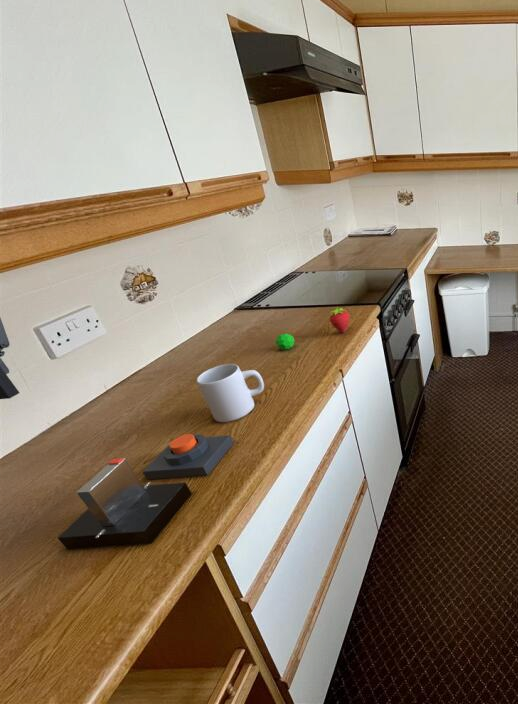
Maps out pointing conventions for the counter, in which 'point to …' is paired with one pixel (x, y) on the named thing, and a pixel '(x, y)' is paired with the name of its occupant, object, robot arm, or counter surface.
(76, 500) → the counter surface
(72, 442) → the counter surface
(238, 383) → the mug
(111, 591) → the counter surface
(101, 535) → the panel
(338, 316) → the strawberry
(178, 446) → the button
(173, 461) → the button box
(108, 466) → the grey metallic block
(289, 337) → the polyhedron
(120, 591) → the counter surface
